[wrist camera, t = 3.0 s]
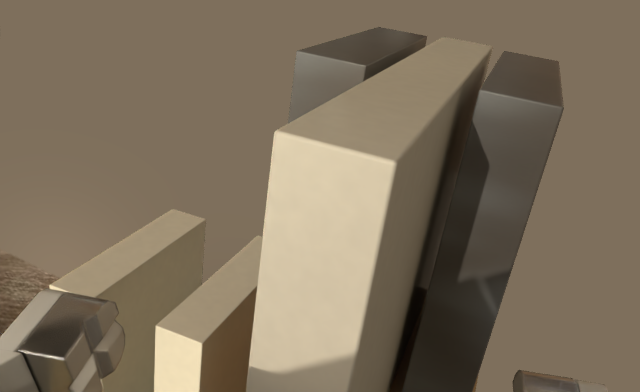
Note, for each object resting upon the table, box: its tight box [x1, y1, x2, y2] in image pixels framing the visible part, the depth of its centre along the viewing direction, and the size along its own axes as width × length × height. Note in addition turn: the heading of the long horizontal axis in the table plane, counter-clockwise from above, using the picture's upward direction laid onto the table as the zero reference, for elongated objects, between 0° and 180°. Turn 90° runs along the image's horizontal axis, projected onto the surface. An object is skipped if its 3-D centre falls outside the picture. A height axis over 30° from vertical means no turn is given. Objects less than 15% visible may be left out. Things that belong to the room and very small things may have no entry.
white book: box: [246, 37, 493, 392], centre depth 21 cm, size 2×19×13 cm, turn 159°
